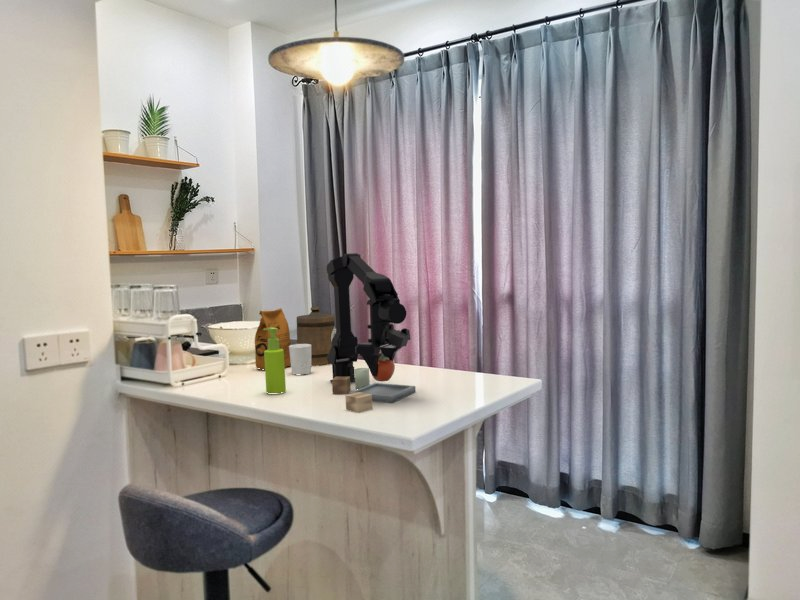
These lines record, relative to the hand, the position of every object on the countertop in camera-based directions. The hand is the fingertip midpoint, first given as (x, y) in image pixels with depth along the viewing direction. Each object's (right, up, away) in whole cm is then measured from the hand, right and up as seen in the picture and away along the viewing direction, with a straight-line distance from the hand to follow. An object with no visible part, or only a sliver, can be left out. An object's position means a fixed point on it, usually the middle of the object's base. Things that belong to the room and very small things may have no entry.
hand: (382, 373), depth 185 cm
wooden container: (-27, -3, +60) cm, 66 cm away
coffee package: (-42, -4, +52) cm, 67 cm away
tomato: (0, -2, 0) cm, 2 cm away
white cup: (-30, -5, +39) cm, 49 cm away
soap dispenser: (-33, -7, +10) cm, 35 cm away
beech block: (-6, -8, -14) cm, 17 cm away
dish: (0, -6, 0) cm, 6 cm away
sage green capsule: (-6, -6, +11) cm, 14 cm away
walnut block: (-12, -6, +6) cm, 15 cm away
